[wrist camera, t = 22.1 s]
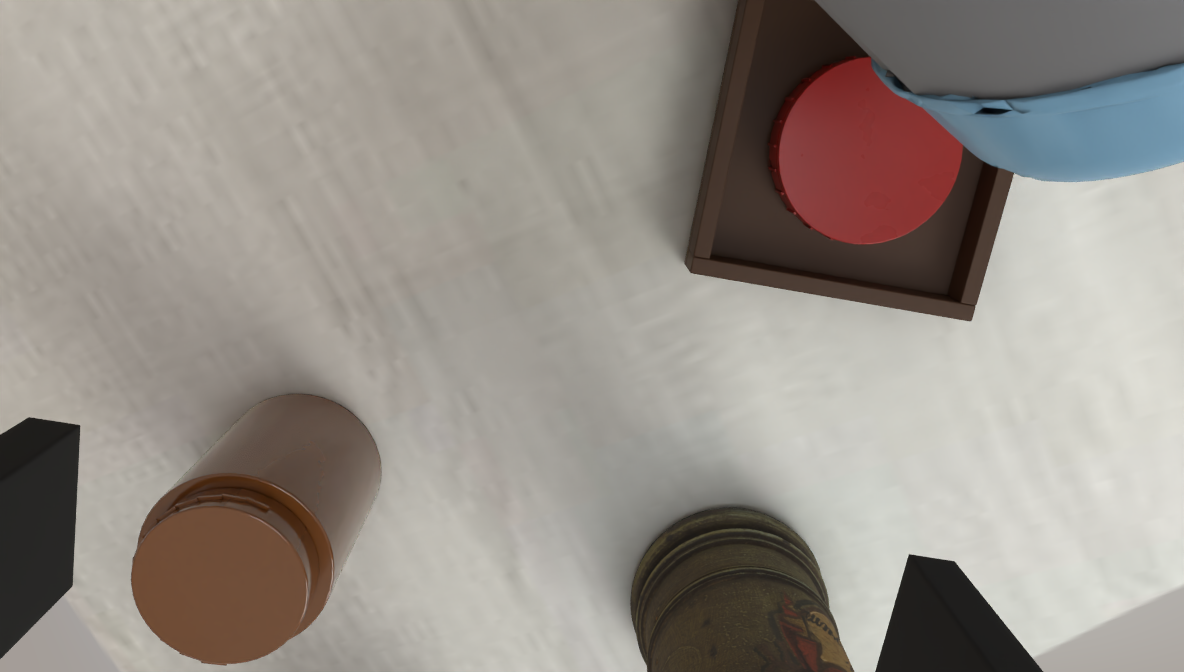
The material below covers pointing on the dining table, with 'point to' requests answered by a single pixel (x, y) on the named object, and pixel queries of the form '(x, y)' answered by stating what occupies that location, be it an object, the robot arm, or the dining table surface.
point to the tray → (780, 240)
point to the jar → (256, 531)
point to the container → (733, 599)
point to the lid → (859, 156)
